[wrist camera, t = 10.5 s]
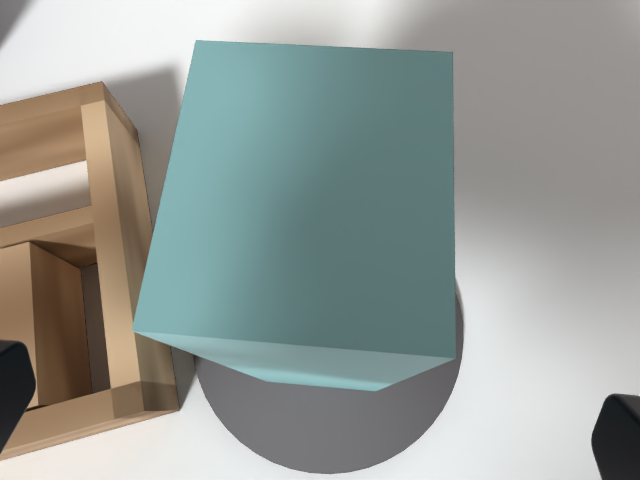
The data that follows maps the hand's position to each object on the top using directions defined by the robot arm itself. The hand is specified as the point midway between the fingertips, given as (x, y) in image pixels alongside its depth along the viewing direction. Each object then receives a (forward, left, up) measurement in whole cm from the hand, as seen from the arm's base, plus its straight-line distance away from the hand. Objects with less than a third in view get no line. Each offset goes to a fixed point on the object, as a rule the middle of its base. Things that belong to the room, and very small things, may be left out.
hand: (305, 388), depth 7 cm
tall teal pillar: (+1, -2, -8) cm, 8 cm away
